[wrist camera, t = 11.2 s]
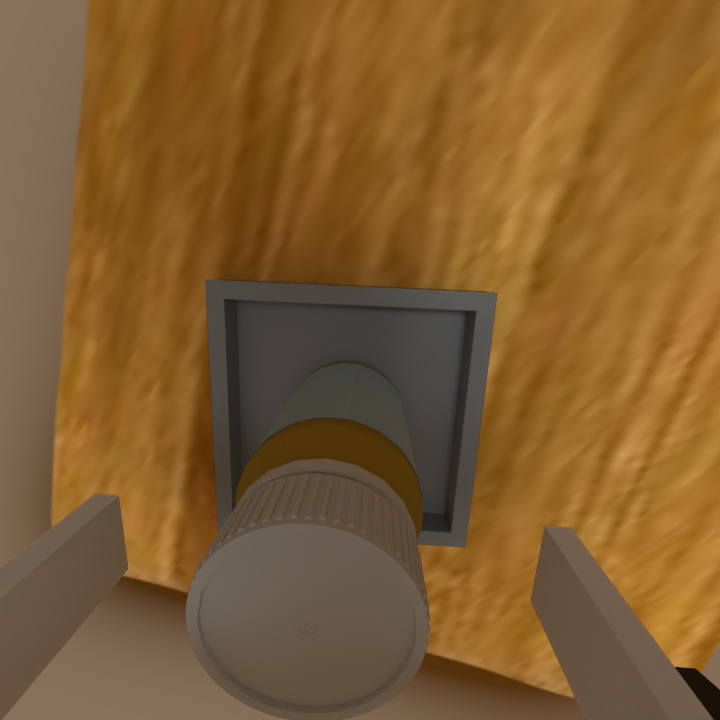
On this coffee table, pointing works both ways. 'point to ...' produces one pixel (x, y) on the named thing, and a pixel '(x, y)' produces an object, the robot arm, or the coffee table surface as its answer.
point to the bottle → (319, 558)
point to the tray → (364, 345)
